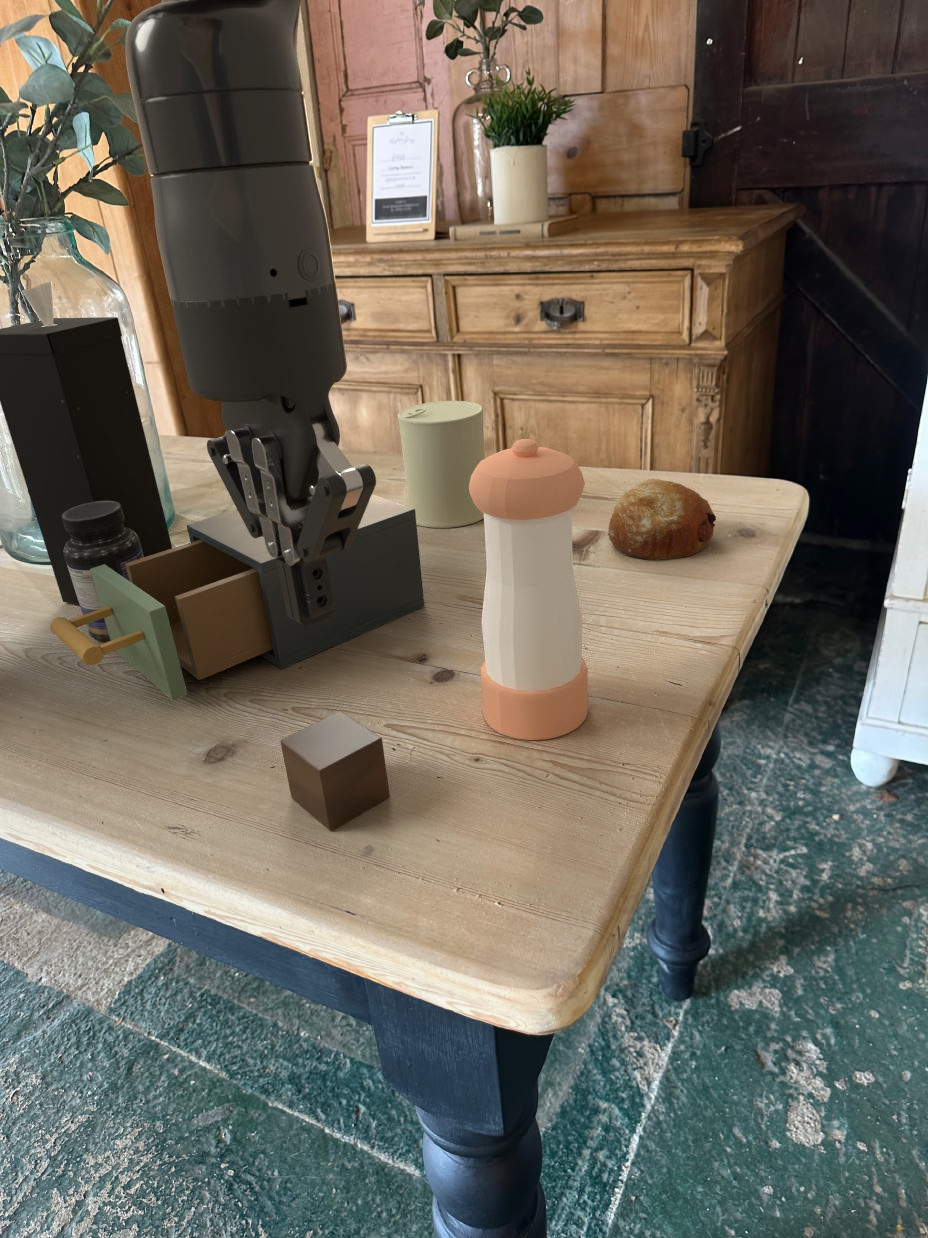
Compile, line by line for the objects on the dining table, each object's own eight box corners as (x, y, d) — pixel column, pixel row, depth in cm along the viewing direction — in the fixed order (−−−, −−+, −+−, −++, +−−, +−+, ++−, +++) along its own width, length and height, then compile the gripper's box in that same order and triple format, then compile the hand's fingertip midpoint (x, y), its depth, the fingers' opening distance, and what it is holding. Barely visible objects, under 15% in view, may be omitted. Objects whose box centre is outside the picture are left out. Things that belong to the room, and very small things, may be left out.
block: (330, 832, 50) (319, 771, 48) (291, 798, 53) (279, 739, 51) (390, 797, 53) (382, 737, 51) (349, 767, 56) (340, 709, 54)
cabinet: (281, 669, 68) (260, 563, 64) (208, 620, 76) (186, 524, 72) (425, 606, 76) (415, 508, 72) (344, 568, 85) (331, 479, 80)
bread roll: (626, 554, 92) (593, 489, 89) (719, 515, 88) (688, 446, 85) (625, 594, 83) (589, 524, 80) (728, 553, 79) (694, 478, 77)
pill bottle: (148, 605, 80) (118, 492, 75) (170, 627, 76) (140, 508, 71) (80, 627, 77) (44, 510, 72) (99, 651, 73) (62, 528, 68)
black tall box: (61, 603, 82) (-37, 291, 69) (120, 570, 88) (39, 278, 75) (125, 613, 79) (34, 288, 66) (181, 578, 85) (108, 275, 72)
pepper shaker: (487, 682, 64) (470, 426, 55) (587, 682, 63) (585, 422, 54) (478, 740, 57) (456, 460, 49) (588, 741, 56) (587, 456, 48)
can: (396, 509, 99) (385, 404, 93) (470, 494, 102) (463, 391, 96) (424, 534, 91) (413, 422, 86) (503, 517, 94) (497, 407, 89)
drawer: (112, 727, 60) (84, 635, 57) (57, 671, 68) (30, 587, 65) (327, 634, 70) (314, 552, 67) (258, 595, 78) (243, 519, 75)
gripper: (117, 288, 42) (195, 607, 50) (250, 298, 33) (320, 686, 41) (253, 269, 46) (305, 566, 54) (405, 273, 37) (441, 629, 45)
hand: (312, 617), depth 47 cm, fingers closed
